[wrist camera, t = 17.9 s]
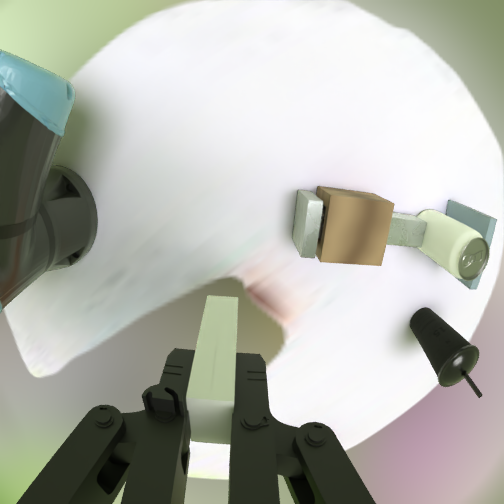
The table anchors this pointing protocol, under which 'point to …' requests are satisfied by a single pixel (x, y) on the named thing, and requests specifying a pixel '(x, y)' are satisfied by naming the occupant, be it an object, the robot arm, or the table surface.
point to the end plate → (476, 222)
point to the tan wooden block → (353, 227)
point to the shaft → (312, 218)
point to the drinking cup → (445, 349)
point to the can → (454, 245)
